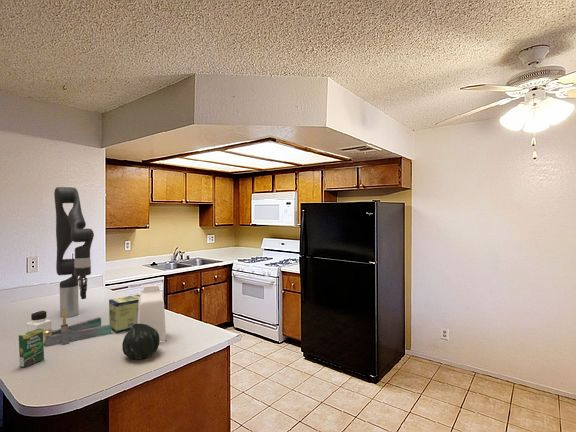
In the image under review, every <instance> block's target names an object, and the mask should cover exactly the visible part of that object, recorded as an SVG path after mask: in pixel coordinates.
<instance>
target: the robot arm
mask: <svg viewBox="0 0 576 432" xmlns="http://www.w3.org/2000/svg"><path fill="white" fill-rule="evenodd" d="M53 194H54V195H53V196H54V207H55V236H56V238H55V239H56V267H55V271H56V275H58V276H67V275H71V276H70V277H69V278H67V279H64V280H62V281H60V282H59V316H60V318H62V309H66V318H71V317H76V316H78V315H79V313H80V312H79V311H80V310H79V309H80V306H79V305H80V304H79V297H80V299H81V300H85V299H87V291H88V277H87V276H91V274H92V261H91V248H92V244H93V241H94V235H95V232H94V231H93V229H92V228H86V227H87V226H86V225H87V224H86V220H85V218H84V217H85V216H84V215H83V212H82V207H81V201H80V200H81V199H80V196H79V191H78V189H77V188H76V187H71V186H70V187H69V186H67V187H65V186H57V187H55V189H54V192H53ZM64 204H73V205H72V208H71V209H70V210H69V212H68V213H66V211H65V208H64V206H63V205H64ZM72 243H84V244H82V245H79V246H77V247H75V248H74V258H64V256H65V253H66V251H67V249H69V247H70V246H71V244H72Z"/></svg>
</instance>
